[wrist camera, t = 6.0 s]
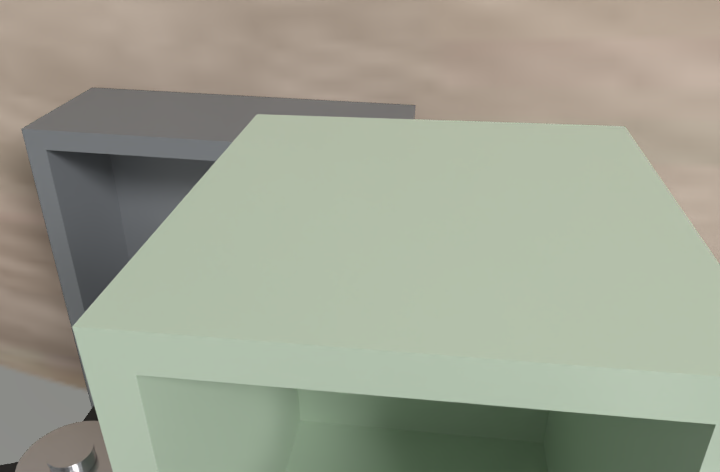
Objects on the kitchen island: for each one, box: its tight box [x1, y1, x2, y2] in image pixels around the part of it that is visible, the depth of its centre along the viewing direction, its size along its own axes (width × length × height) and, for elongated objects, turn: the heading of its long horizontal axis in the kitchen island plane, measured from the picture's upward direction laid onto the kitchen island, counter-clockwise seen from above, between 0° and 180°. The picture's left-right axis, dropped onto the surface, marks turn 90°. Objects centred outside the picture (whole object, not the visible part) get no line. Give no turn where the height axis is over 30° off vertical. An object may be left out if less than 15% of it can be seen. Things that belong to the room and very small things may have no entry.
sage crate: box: [72, 114, 720, 472], centre depth 10 cm, size 6×7×6 cm
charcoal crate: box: [22, 88, 415, 408], centre depth 29 cm, size 15×15×6 cm
